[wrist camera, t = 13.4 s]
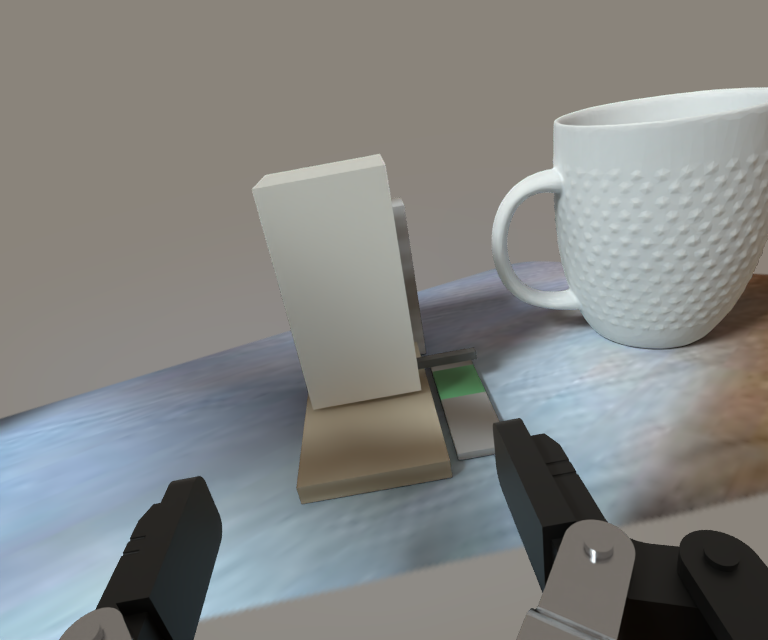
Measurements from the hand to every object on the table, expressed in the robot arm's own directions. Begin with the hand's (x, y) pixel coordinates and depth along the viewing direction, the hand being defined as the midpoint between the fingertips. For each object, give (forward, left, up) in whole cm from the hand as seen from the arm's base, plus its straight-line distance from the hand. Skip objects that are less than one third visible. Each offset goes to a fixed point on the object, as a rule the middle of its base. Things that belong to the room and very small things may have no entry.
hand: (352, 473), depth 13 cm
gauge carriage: (+12, +8, -6) cm, 15 cm away
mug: (+24, -2, -7) cm, 25 cm away
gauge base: (+11, +8, -7) cm, 15 cm away
